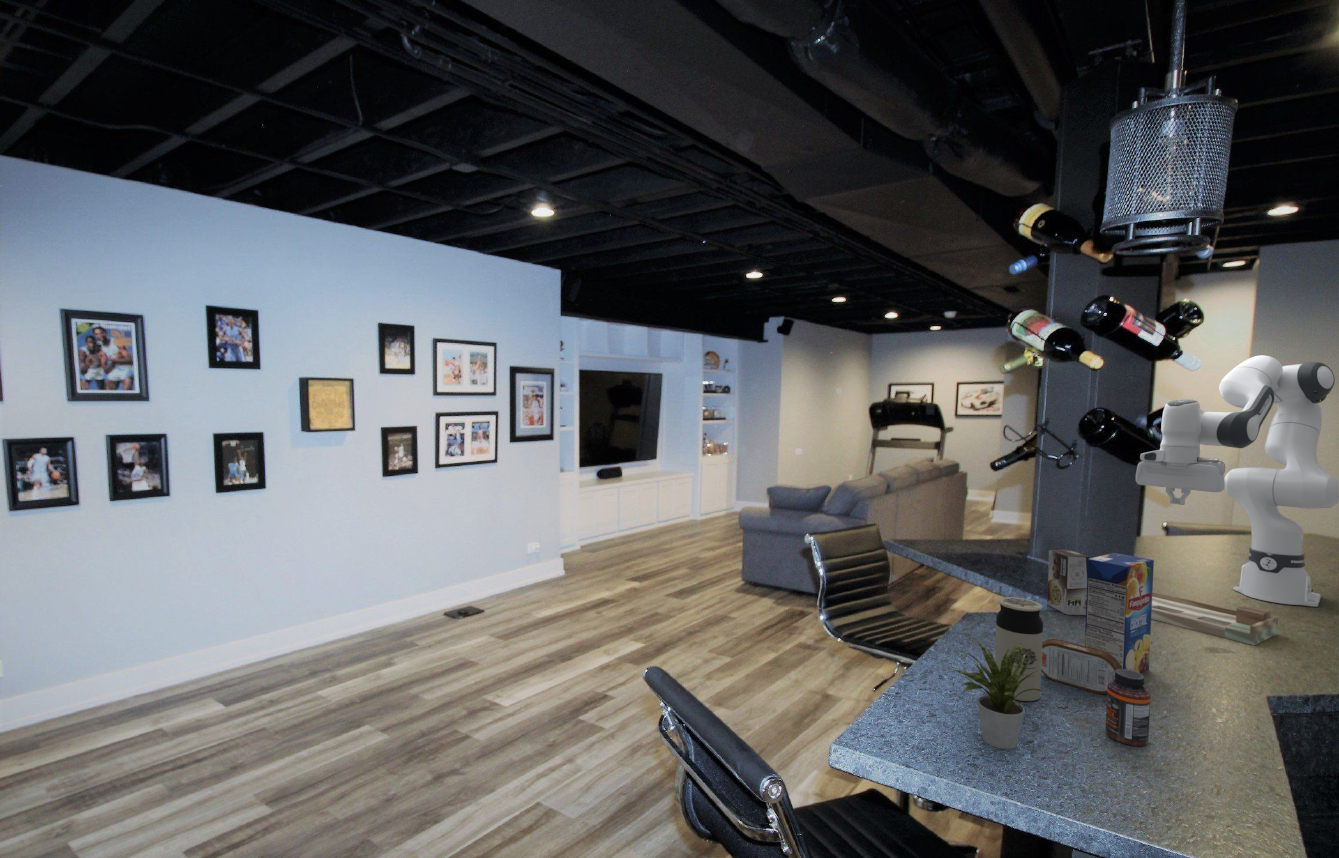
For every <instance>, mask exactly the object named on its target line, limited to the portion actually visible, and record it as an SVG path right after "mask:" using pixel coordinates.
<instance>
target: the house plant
mask: <svg viewBox="0 0 1339 858" xmlns="http://www.w3.org/2000/svg"><path fill="white" fill-rule="evenodd" d="M972 640H974V642H975V643H976V644H977V645H978V646H979V648H980V649H981V651H982V653H983V656H984V659H985V662H986V664H987V666H988V668H989V669H988V668H987V667H986V666H984V665H983V664H982V662H980V660H979V659H977V658H976V657H975V656H974V655H972V654H970V653H969V652H966V651H963V650H958V649H954V648H952V650H953V651H954V650H955V651H958V652H960V653H962V654H963V653H964V654H965V655H964V657H965V658H968V659H970V660H972V659H971V658H973V659H974V661H973V664H974V667H976V669H977V670H978V671H973V672H968V671H965V670H957V669H954V671H955V672H956V673H958V674H959V675H958V674H957V676H958V677H962V678H964V679H967V680H968V681H966V682H964V683H962V684H961V686H959V687H962V686H966V687H965V689H964V690H963V693H965V691H970V690H977V689H979V690H980V691H981V692H982V693H983V694H984V695H980V696H979V697H977V700H976V701H977V707H978V708H977V709H978V715H979V724H980V731H981V739H982V740H983V741H984V742H985V743H986V744H988V745H990V746H992V747H994V748H997V749H1002V750H1012V749H1015V748H1017V745H1018V741H1019V737H1020V732H1021V728H1022V724H1023V719H1024V716H1025V712H1026V710H1025V707H1024V706H1023V705H1022V703H1021V701H1020V702H1018V701H1017V700H1014V699H1015V698H1016V697H1017V696H1018V695H1019V694H1021V693H1023V692H1025V691H1030V690H1038V691H1041V693H1044V691H1043V690H1042V689H1041V690H1040V689H1035V688H1034V689H1027V690H1024V691H1022V692H1020V693H1019V694H1018V695H1017V696H1016V697H1015V698H1014V693H1015V691H1016V690H1017V689H1018V688H1019V685H1020V683H1021V682H1022V681H1023V680H1025V679H1026V678H1028V677H1029V676H1030V675H1031V674H1033V673H1035V672H1032V673H1030V674H1029V675H1027V676H1026V677H1024V678H1023V679H1021V680H1020V681H1019V682H1018V680H1019V679H1020V677H1021V676H1022V674H1023V673H1024V671H1025V670H1026V668H1027V666H1028V664H1029V662H1030V660H1031V659H1030V660H1029V661H1028V662H1027V663H1026V664H1025V665H1024V667H1023V668H1022V670H1021V672H1020V673H1019V674H1017V673H1018V671H1019V669H1020V667H1021V666H1022V664H1023V661H1024V658H1025V655H1026V653H1025V654H1024V655H1023V657H1022V658H1021V660H1020V662H1019V664H1018V666H1017V667H1016V669H1015V671H1014V673H1013V675H1012V676H1011V673H1012V668H1013V664H1014V662H1015V659H1016V657H1017V655H1018V653H1019V651H1020V650H1021V649H1020V647H1021V646H1022V643H1021V644H1019V645H1017V646H1016V647H1014V649H1013V650H1012V652H1011V653H1010V655H1009V656H1008V654H1009V649H1008V650H1007V651H1006V653H1005V655H1004V657H1003V659H1002V662H1001V668H1000V671H999V668H998V666H997V664H996V662H995V657H994V655H993V654H992V652H991V651H990V650H989V649H988V648H986V647H985V646H984V645H983V644H981V643H980V642H979V641H978V640H976V639H974V638H972ZM960 655H961V654H960ZM966 655H967V656H966ZM961 656H962V657H963V655H961ZM970 657H971V658H970ZM1038 671H1039V670H1038ZM1036 672H1037V671H1036ZM985 674H986V676H985ZM987 677H988V678H987ZM975 682H976V683H975ZM1017 682H1018V683H1017ZM983 686H984V687H983ZM985 688H986V689H985ZM982 689H983V690H982ZM984 691H985V693H984ZM986 693H987V694H986ZM1044 694H1045V693H1044ZM1045 695H1046V694H1045Z"/></svg>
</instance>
